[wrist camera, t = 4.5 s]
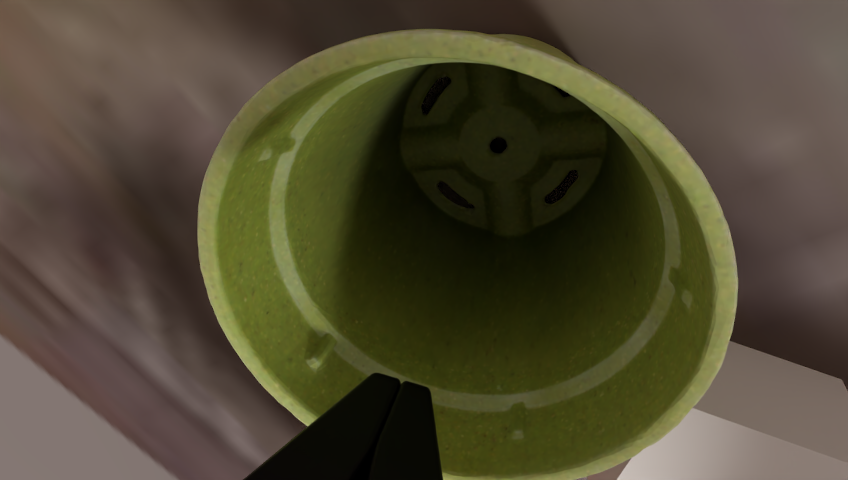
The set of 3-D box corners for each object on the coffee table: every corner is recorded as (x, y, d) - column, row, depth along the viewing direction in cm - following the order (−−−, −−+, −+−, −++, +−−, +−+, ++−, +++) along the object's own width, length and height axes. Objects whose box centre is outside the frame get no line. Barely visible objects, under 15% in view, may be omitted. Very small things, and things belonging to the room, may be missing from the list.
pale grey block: (839, 375, 19) (891, 478, 16) (741, 484, 23) (767, 589, 19) (658, 312, 20) (671, 400, 16) (587, 429, 23) (587, 522, 20)
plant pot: (457, -118, 15) (327, -119, 8) (753, 102, 16) (889, 288, 9) (304, 163, 20) (138, 323, 13) (535, 317, 21) (504, 550, 14)
